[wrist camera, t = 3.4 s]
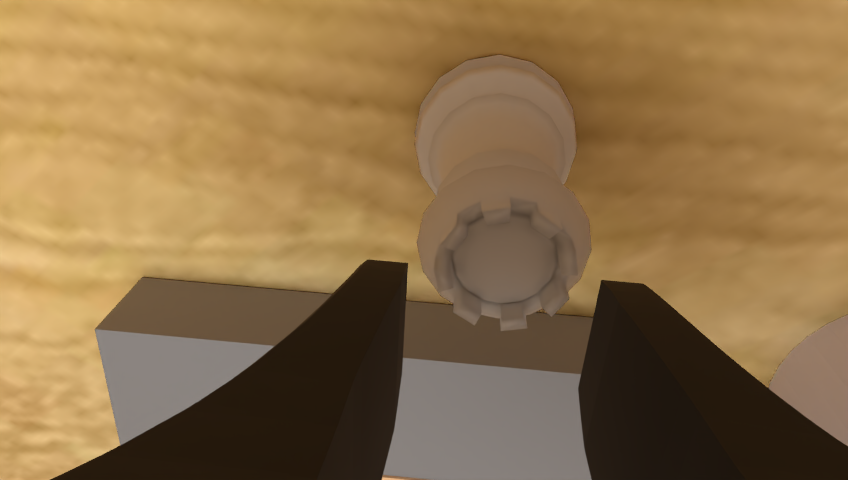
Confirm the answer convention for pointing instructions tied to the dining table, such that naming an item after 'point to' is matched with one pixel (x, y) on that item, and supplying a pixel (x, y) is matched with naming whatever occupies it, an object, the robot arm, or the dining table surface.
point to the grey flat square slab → (420, 383)
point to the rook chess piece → (500, 191)
